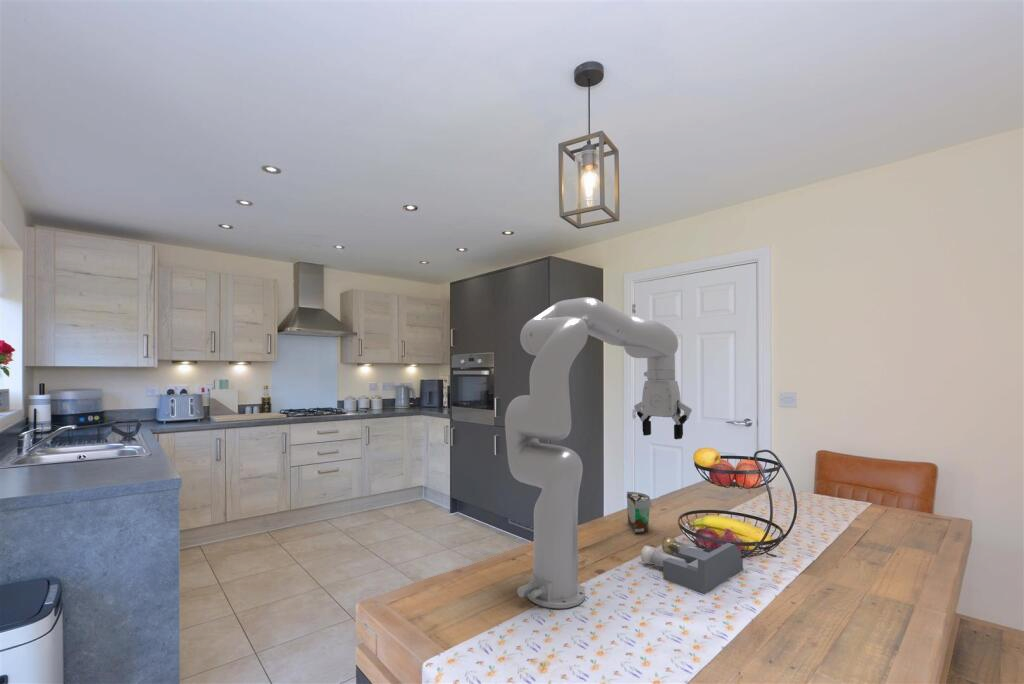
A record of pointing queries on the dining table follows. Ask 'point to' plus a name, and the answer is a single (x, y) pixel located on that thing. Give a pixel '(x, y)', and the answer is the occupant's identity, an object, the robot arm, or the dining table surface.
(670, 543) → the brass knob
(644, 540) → the dining table surface
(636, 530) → the food container
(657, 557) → the light grey capped cylinder
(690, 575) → the mount
